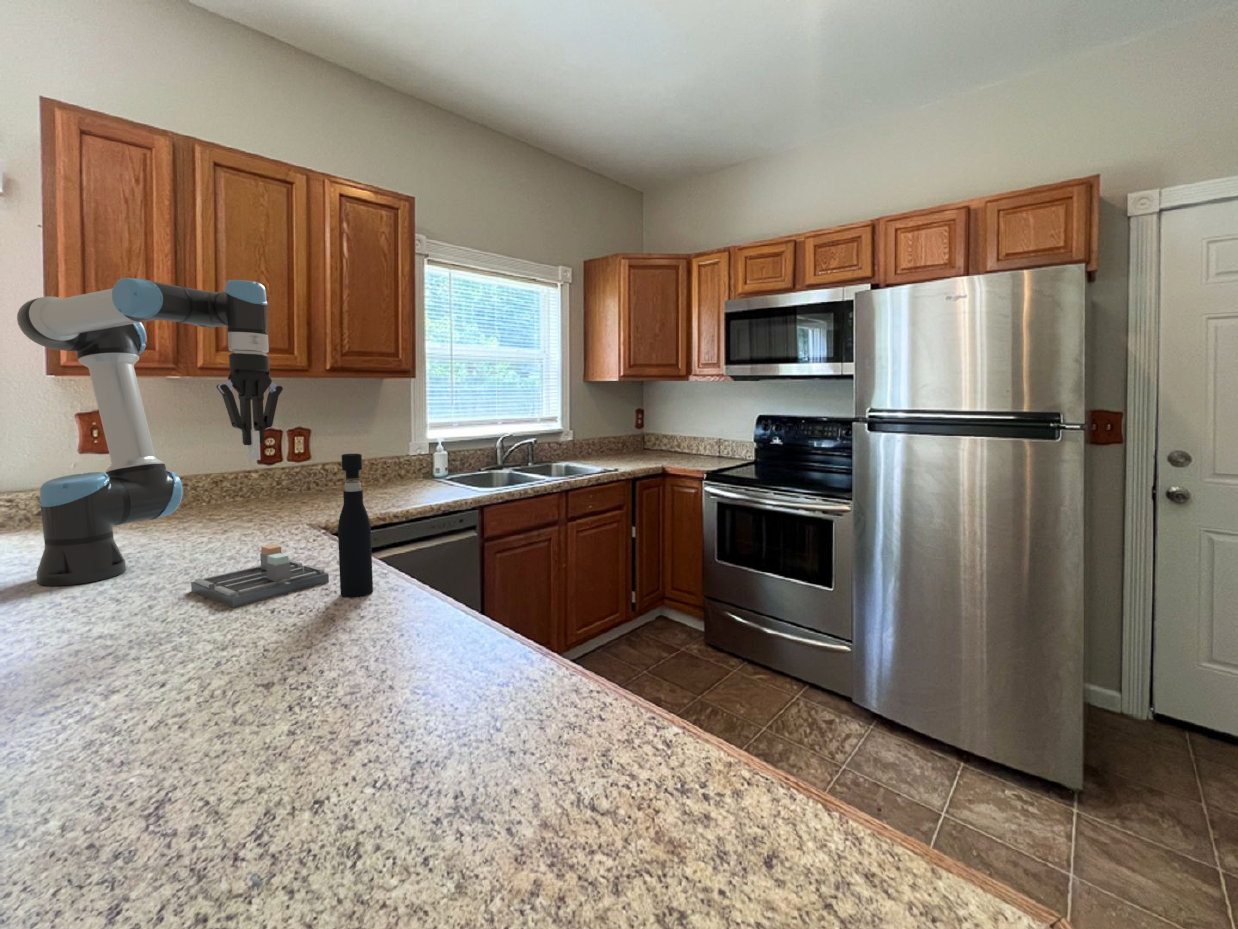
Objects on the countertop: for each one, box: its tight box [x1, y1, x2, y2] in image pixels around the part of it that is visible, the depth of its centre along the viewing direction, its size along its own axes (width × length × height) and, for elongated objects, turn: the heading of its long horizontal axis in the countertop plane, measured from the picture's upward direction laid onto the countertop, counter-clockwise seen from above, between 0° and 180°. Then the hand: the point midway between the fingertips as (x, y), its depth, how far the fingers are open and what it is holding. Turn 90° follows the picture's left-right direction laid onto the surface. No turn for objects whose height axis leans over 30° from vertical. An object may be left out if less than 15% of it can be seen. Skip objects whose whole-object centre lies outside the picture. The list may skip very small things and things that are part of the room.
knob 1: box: [259, 544, 284, 570], centre depth 135 cm, size 4×3×5 cm
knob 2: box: [266, 552, 291, 581], centre depth 127 cm, size 4×3×5 cm
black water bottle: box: [337, 453, 374, 599], centre depth 124 cm, size 6×6×30 cm
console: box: [190, 558, 330, 609], centre depth 129 cm, size 18×20×3 cm
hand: (254, 459), depth 132 cm, fingers closed
